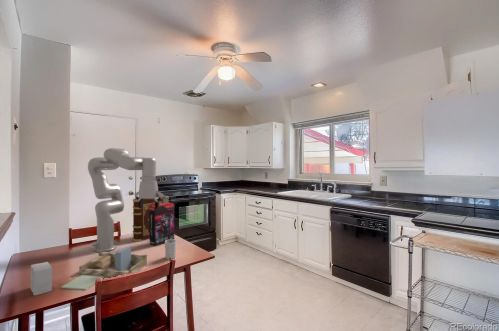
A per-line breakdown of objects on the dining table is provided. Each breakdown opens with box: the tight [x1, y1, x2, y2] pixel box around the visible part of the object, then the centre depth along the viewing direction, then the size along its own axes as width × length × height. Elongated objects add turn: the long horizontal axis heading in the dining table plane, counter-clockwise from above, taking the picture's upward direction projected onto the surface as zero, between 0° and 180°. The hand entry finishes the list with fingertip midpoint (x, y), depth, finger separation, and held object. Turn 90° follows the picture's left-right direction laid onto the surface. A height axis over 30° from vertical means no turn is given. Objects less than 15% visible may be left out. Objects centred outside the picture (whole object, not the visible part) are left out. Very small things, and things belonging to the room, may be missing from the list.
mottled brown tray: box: [78, 251, 148, 277], centre depth 135 cm, size 28×15×6 cm, turn 83°
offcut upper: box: [90, 255, 111, 267], centre depth 136 cm, size 6×8×3 cm
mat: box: [61, 274, 105, 291], centre depth 121 cm, size 12×12×1 cm
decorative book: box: [132, 196, 164, 242], centre depth 193 cm, size 22×8×30 cm, turn 148°
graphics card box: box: [149, 202, 175, 247], centre depth 181 cm, size 17×7×27 cm, turn 147°
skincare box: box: [30, 261, 53, 296], centre depth 114 cm, size 10×6×10 cm, turn 48°
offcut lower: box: [89, 261, 114, 270], centre depth 136 cm, size 7×9×3 cm
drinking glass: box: [164, 238, 177, 260], centre depth 153 cm, size 7×7×10 cm
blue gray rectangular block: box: [114, 246, 132, 271], centre depth 135 cm, size 3×9×11 cm, turn 173°
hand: (148, 208), depth 149 cm, fingers open, 9 cm apart
